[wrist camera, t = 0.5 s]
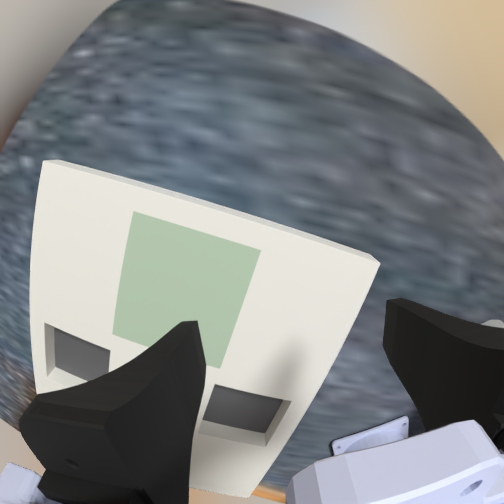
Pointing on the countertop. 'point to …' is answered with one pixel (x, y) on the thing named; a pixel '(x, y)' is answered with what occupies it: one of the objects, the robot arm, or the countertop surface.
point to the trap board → (190, 306)
